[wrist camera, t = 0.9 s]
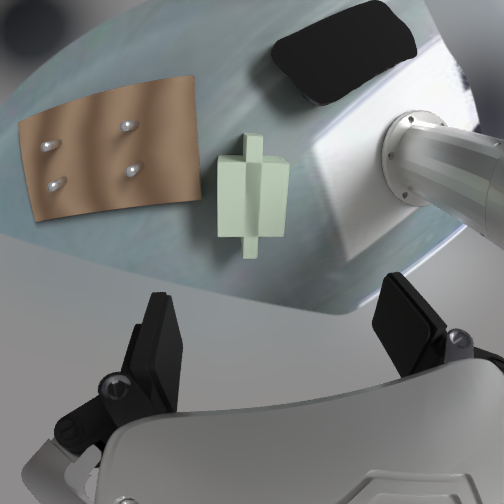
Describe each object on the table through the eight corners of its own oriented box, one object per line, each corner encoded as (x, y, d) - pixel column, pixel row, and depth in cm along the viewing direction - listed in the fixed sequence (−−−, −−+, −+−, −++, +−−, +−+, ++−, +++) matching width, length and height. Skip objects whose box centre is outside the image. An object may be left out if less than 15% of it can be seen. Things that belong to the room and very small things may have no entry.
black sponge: (307, 114, 27) (318, 114, 24) (261, 52, 23) (266, 44, 20) (407, 56, 23) (425, 53, 20) (370, 1, 20) (384, -8, 17)
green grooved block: (219, 132, 27) (217, 135, 23) (280, 134, 28) (291, 138, 23) (218, 238, 32) (218, 259, 28) (273, 237, 33) (281, 258, 29)
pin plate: (194, 77, 24) (189, 70, 20) (202, 195, 30) (199, 209, 26) (25, 120, 22) (3, 124, 18) (41, 217, 28) (22, 231, 24)
